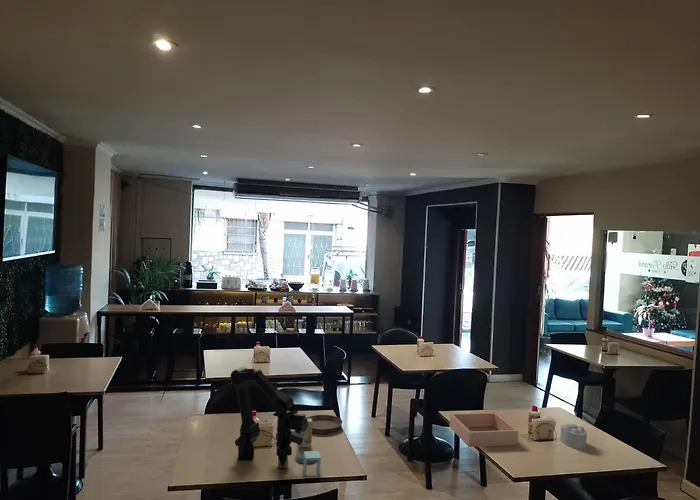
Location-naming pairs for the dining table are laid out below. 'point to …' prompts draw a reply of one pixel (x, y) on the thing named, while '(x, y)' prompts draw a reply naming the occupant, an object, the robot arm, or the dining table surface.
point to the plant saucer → (325, 423)
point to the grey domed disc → (300, 458)
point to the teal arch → (311, 456)
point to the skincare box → (307, 435)
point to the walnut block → (285, 463)
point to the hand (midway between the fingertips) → (282, 463)
